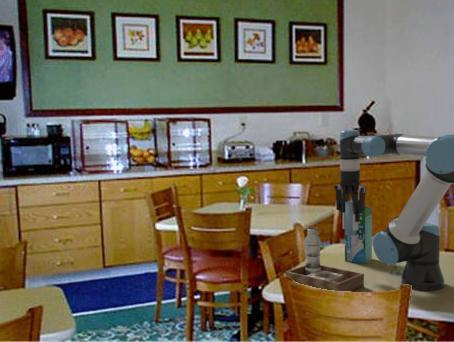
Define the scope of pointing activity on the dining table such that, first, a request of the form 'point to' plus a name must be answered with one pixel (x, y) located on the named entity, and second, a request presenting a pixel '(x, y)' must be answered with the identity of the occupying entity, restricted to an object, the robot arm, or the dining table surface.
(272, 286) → the dining table surface
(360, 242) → the milk carton
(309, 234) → the plastic bottle
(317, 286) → the tray
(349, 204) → the peg
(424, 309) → the dining table surface
